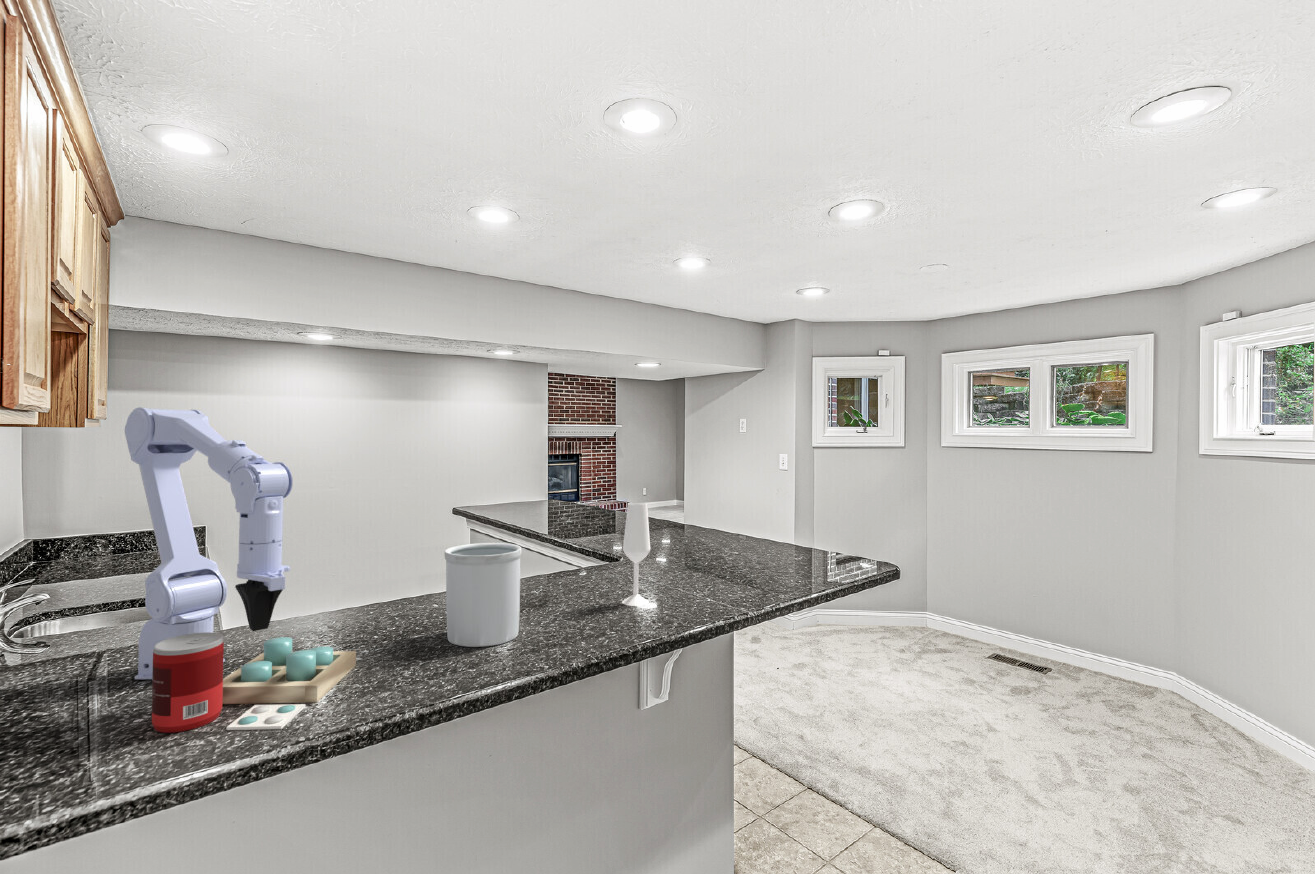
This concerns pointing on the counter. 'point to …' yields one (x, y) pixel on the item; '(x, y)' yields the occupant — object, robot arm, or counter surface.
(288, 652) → the button
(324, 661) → the button
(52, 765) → the counter surface
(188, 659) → the canned food
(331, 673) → the wooden compartment tray
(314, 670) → the button
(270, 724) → the tile
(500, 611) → the utensil holder
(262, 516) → the robot arm
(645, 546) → the champagne flute
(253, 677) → the button
